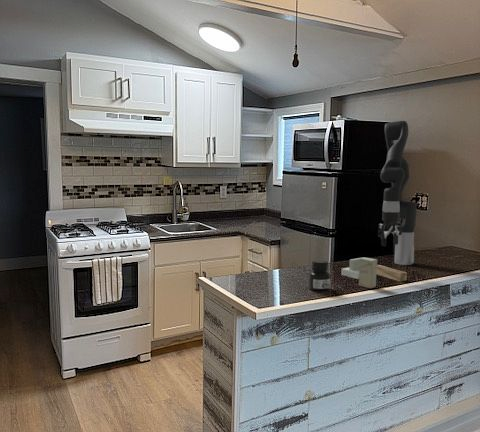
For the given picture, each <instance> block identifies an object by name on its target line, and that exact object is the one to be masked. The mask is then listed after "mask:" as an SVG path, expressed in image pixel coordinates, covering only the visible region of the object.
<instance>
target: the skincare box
mask: <svg viewBox="0 0 480 432" xmlns="http://www.w3.org/2000/svg"><path fill="white" fill-rule="evenodd" d="M359 258H360V270H359V279H358V287H363V288H367V289H372V288H376V287H377V286H376V285H377V265H378V259H376V258H370V257H365V258H362V257H359Z"/></svg>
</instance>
